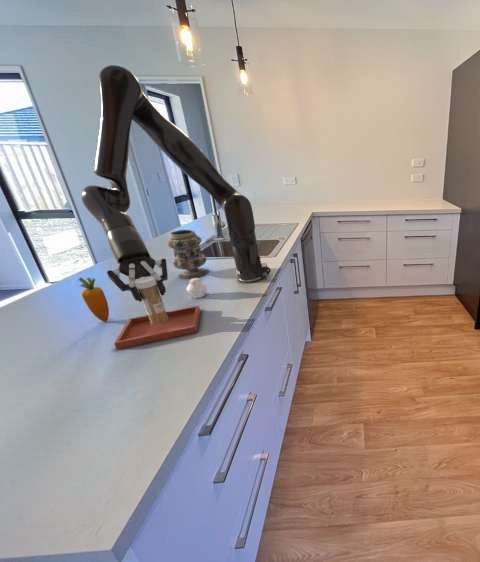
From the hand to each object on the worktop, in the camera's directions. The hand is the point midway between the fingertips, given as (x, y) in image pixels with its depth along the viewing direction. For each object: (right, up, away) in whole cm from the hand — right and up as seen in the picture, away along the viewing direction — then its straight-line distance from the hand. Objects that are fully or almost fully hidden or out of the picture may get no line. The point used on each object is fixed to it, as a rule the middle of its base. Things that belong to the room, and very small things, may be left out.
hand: (152, 297), depth 82 cm
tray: (-1, -9, +6) cm, 11 cm away
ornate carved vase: (-15, +7, +44) cm, 47 cm away
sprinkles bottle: (-1, -7, +5) cm, 9 cm away
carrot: (-21, -8, +10) cm, 25 cm away
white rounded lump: (-1, -1, +25) cm, 25 cm away
